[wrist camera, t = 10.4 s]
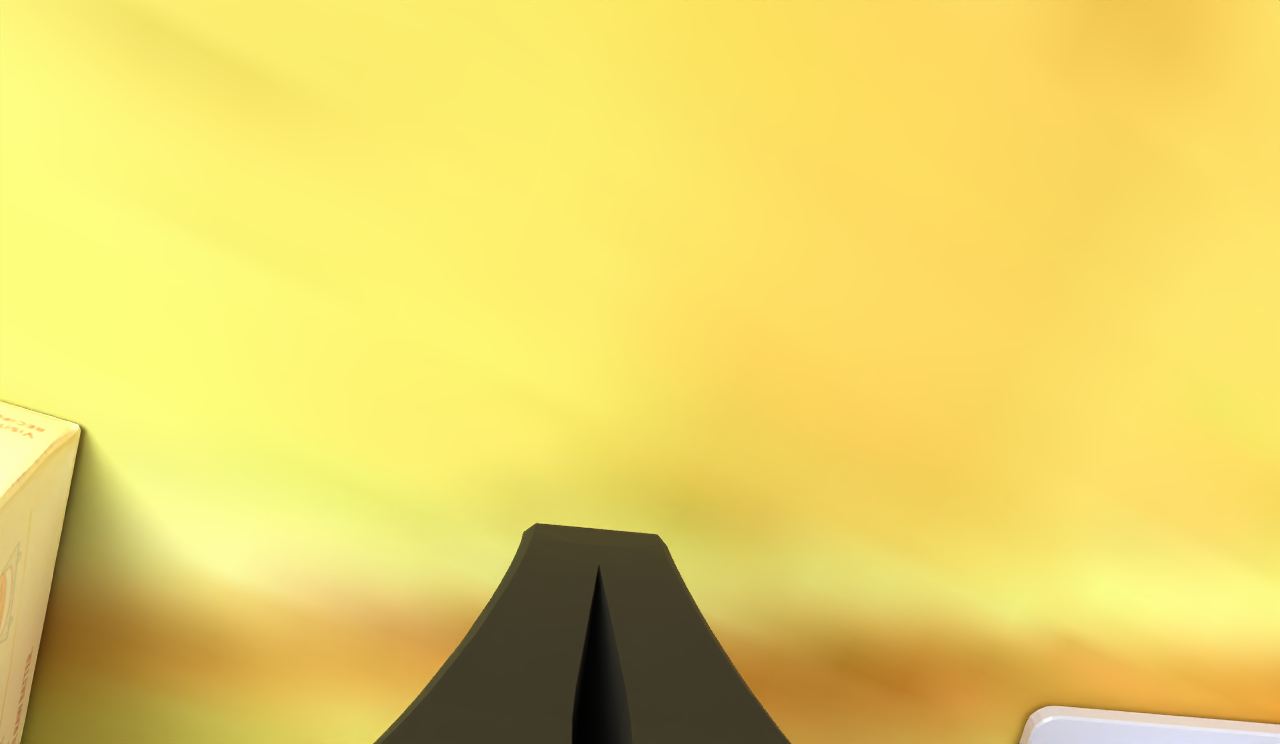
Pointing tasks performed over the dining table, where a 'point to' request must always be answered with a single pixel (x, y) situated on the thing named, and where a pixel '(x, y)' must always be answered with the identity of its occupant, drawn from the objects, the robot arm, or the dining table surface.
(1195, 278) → the dining table surface
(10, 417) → the coffeecake box
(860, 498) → the dining table surface
